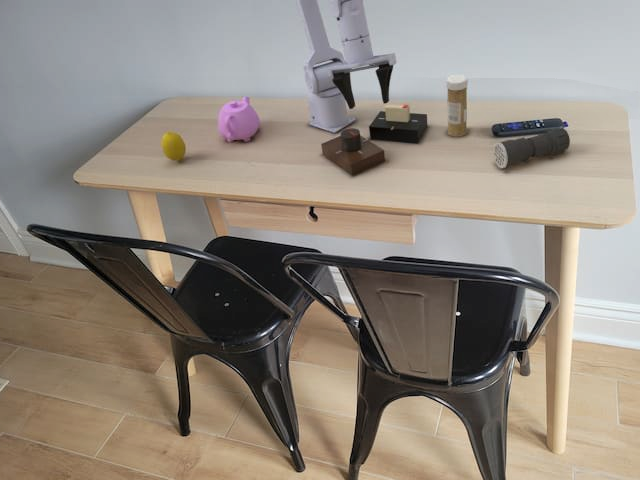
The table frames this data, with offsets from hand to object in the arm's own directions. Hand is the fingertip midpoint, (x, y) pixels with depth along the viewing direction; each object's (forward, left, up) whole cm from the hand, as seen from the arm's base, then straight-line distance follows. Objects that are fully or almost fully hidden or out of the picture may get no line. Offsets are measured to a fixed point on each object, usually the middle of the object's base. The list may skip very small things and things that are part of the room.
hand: (369, 105), depth 122 cm
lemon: (-44, -25, -14) cm, 52 cm away
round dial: (-6, -1, -11) cm, 12 cm away
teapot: (-40, -7, -14) cm, 43 cm away
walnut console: (-6, -1, -14) cm, 15 cm away
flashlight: (+28, +18, -14) cm, 37 cm away
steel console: (-4, +13, -14) cm, 20 cm away
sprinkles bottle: (+8, +20, -14) cm, 26 cm away
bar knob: (-4, +13, -11) cm, 17 cm away
